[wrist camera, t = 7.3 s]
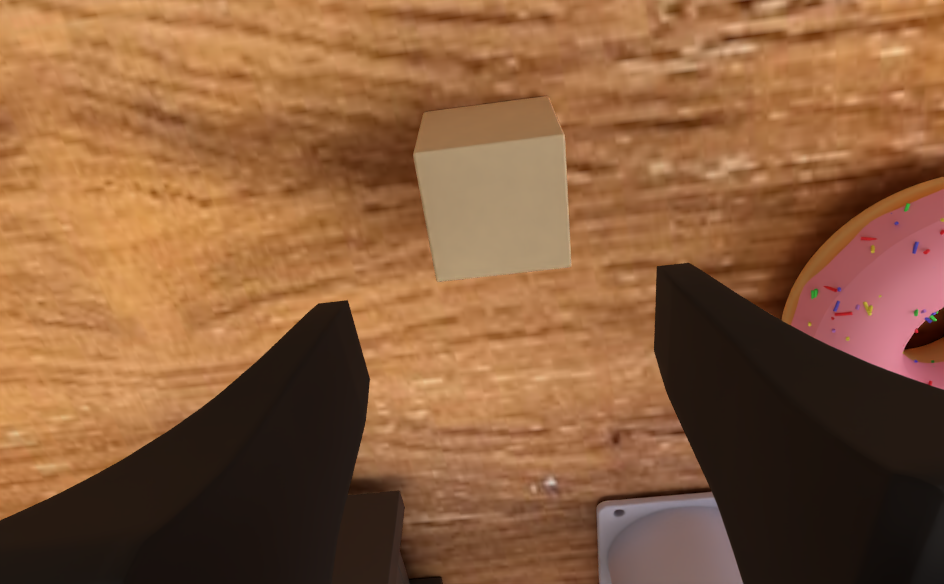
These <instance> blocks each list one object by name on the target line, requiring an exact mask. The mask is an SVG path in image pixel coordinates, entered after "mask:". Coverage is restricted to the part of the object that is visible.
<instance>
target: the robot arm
mask: <svg viewBox="0 0 944 584" xmlns="http://www.w3.org/2000/svg"><path fill="white" fill-rule="evenodd" d="M654 352H655V355H656V359H657V362H658V366H659V369H660V373H661V376H662V379H663V382H664V386H665V389H666V392H667V394H668V397H669V399H670V401H671V403H672V406H673V408H674V410H675V412H676V414H677V417H678V419H679V421H680V423H681V426H682V428H683V430H684V432H685V434H686V436H687V438H688V441H689V443H690V445H691V447H692V449H693V451H694V454H695V456H696V458H697V460H698V462H699V464H700V467H701V469H702V471H703V473H704V475H705V477H706V480H707V482H708V484H709V486H710V489H711V491H712V492H704V493H692V494H680V495H669V496H657V497H645V498H633V499H621V500H609V501H603V502H601V503H599V504H598V506H597V508H596V514H597V543H598V572H599V584H944V390H943V389H940V388H937V387H934V386H931V385H928V384H925V383H922V382H919V381H917V380H914V379H911V378H908V377H905V376H903V375H900V374H897V373H894V372H892V371H889V370H886V369H884V368H881V367H879V366H876V365H873V364H871V363H868V362H866V361H864V360H861V359H859V358H857V357H855V356H852V355H850V354H848V353H846V352H843V351H841V350H839V349H837V348H834V347H832V346H830V345H828V344H826V343H824V342H822V341H820V340H817V339H815V338H813V337H811V336H810V335H808V334H806V333H804V332H802V331H800V330H798V329H796V328H795V327H793V326H791V325H789V324H787V323H785V322H783V321H782V320H780V319H778V318H776V317H775V316H773V315H771V314H770V313H768V312H766V311H764V310H763V309H761V308H760V307H758V306H756V305H755V304H753V303H751V302H750V301H748V300H747V299H745V298H743V297H742V296H740V295H739V294H737V293H736V292H734V291H732V290H731V289H729V288H728V287H726V286H725V285H723V284H722V283H720V282H719V281H717V280H716V279H714V278H712V277H711V276H709V275H708V274H706V273H705V272H703V271H702V270H700V269H698V268H697V267H695V266H693V265H692V264H690V263H683V264H674V265H665V266H657V278H656V308H655V338H654ZM369 382H370V378H369V374H368V371H367V367H366V364H365V360H364V356H363V353H362V349H361V346H360V342H359V339H358V335H357V332H356V328H355V324H354V321H353V317H352V314H351V310H350V307H349V303H348V300H347V301H338V302H329V303H320V304H318V305H316V306H315V307H314V308H313V309H312V310H310V311H309V312H308V313H307V314H306V315H305V316H304V317H303V318H302V319H301V320H300V321H299V322H298V323H297V324H296V325H295V326H294V327H293V328H292V329H290V330H289V331H288V332H287V333H286V334H285V335H284V336H283V337H282V338H281V339H280V340H279V341H278V342H277V343H276V344H275V345H274V346H273V347H272V348H271V349H270V350H269V351H268V352H266V353H265V354H264V355H263V356H262V357H261V358H260V359H259V360H258V361H257V362H256V363H255V364H253V365H252V366H251V367H250V368H249V369H248V370H246V371H245V372H244V373H243V374H242V375H241V376H240V377H238V378H237V379H236V380H235V381H234V382H233V383H232V384H230V385H229V386H228V387H227V388H226V389H225V390H223V391H222V392H221V393H220V394H218V395H217V396H216V397H215V398H214V399H212V400H211V401H210V402H208V403H207V404H206V405H204V406H203V407H202V408H200V409H199V410H198V411H196V412H195V413H193V414H192V415H191V416H189V417H188V418H187V419H185V420H184V421H182V422H181V423H180V424H178V425H177V426H175V427H174V428H172V429H171V430H169V431H168V432H166V433H165V434H163V435H161V436H160V437H158V438H157V439H155V440H153V441H152V442H150V443H149V444H147V445H145V446H144V447H142V448H141V449H139V450H137V451H136V452H134V453H133V454H131V455H129V456H128V457H126V458H125V459H123V460H121V461H119V462H118V463H116V464H114V465H112V466H110V467H109V468H107V469H105V470H103V471H101V472H100V473H98V474H96V475H94V476H92V477H90V478H88V479H87V480H85V481H83V482H81V483H79V484H77V485H75V486H73V487H71V488H69V489H67V490H65V491H63V492H61V493H59V494H57V495H55V496H53V497H51V498H49V499H47V500H45V501H43V502H40V503H38V504H36V505H34V506H32V507H29V508H27V509H25V510H23V511H21V512H18V513H16V514H14V515H12V516H9V517H7V518H5V519H3V520H1V521H0V584H331V583H332V575H333V568H334V561H335V554H336V546H337V539H338V534H339V529H340V524H341V519H342V515H343V511H344V507H345V503H346V499H347V495H348V491H349V487H350V483H351V479H352V475H353V471H354V467H355V463H356V459H357V455H358V451H359V447H360V443H361V438H362V434H363V430H364V426H365V421H366V413H367V404H368V393H369Z"/></svg>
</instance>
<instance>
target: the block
mask: <svg viewBox="0 0 944 584" xmlns="http://www.w3.org/2000/svg"><path fill="white" fill-rule="evenodd" d="M413 158H414V163H415V169H416V174H417V179H418V185H419V190H420V195H421V201H422V206H423V212H424V217H425V222H426V228H427V233H428V238H429V244H430V249H431V254H432V260H433V265H434V271H435V276H436V280H437V282H442V281H451V280H460V279H469V278H478V277H487V276H496V275H505V274H514V273H523V272H532V271H541V270H550V269H559V268H568V267H571V247H570V228H569V208H568V188H567V168H566V149H565V135H564V133H563V130H562V128H561V125H560V123H559V121H558V118H557V116H556V113H555V111H554V109H553V106H552V104H551V101H550V99H549V97H548V96H543V97H535V98H528V99H520V100H512V101H505V102H497V103H489V104H482V105H474V106H466V107H459V108H451V109H443V110H436V111H428V112H424V113H423V117H422V121H421V125H420V129H419V133H418V137H417V141H416V145H415V149H414V153H413Z"/></svg>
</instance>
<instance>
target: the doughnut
mask: <svg viewBox="0 0 944 584" xmlns="http://www.w3.org/2000/svg"><path fill="white" fill-rule="evenodd" d="M943 307H944V177H940V178H936V179H933V180H929V181H926V182H923V183H920V184H917V185H914V186H912V187H909V188H906V189H904V190H902V191H899V192H897V193H895V194H893V195H891V196H889V197H887V198H885V199H883V200H881V201H879V202H877V203H876V204H874V205H872V206H870V207H869V208H867V209H866V210H864V211H863V212H861V213H860V214H858V215H857V216H855V217H854V218H852V219H851V220H850V221H848V222H847V223H846V224H845V225H843V226H842V227H841V228H840V229H839V230H837V231H836V232H835V233H834V234H833V235H832V236H831V237H830V238H829V239H828V240H827V241H826V242H825V243H824V244H823V245H822V246H821V247H820V248H819V249H818V250H817V251H816V253H815V254H814V255H813V256H812V257H811V259H810V260H809V261H808V263H807V264H806V265H805V267H804V268H803V270H802V271H801V273H800V275H799V276H798V278H797V280H796V281H795V283H794V285H793V287H792V289H791V291H790V294H789V296H788V299H787V301H786V304H785V308H784V311H783V315H782V321H783V322H785V323H787V324H789V325H791V326H793V327H795V328H796V329H798V330H800V331H802V332H804V333H806V334H808V335H810V336H811V337H813V338H815V339H817V340H820V341H822V342H824V343H826V344H828V345H830V346H832V347H834V348H837V349H839V350H841V351H843V352H846V353H848V354H850V355H852V356H855V357H857V358H859V359H861V360H864V361H866V362H868V363H871V364H873V365H876V366H879V367H881V368H884V369H886V370H889V371H892V372H894V373H897V374H900V375H903V376H905V377H908V378H911V379H914V380H917V381H919V382H922V383H925V384H928V385H931V386H934V387H937V388H940V389H943V390H944V337H943V338H941V339H939V340H937V341H935V342H932V343H930V344H927V345H924V346H921V347H917V348H912V349H904V348H905V346H906V344H907V343H908V341H909V339H910V338H911V336H912V335H913V334H914V332H915V333H918V330H917V329H918V328H919V327H920V326H921V325H922V324H923V323H924V322H925V321H927V322H929V323H931V322H932V320H933V321H936V320H937V319H936V318H935V317H934V316H933V315H936V314H938V312H939V310H940V309H942V308H943ZM929 317H930V318H931V319H932V320H930V318H929Z"/></svg>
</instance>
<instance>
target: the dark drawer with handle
mask: <svg viewBox="0 0 944 584" xmlns="http://www.w3.org/2000/svg"><path fill="white" fill-rule="evenodd" d="M404 509H405V507H404V504H403V500H402V497H401V493H400V491H390V492H379V493H367V494H356V495H347V499H346V503H345V507H344V511H343V515H342V519H341V524H340V529H339V534H338V539H337V546H336V554H335V561H334V568H333V575H332V583H331V584H410V582H409V579H408V576H407V572H406V569H405V566H404V563H403V559H402V556H401V553H400V544H401V535H402V527H403V518H404Z"/></svg>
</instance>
